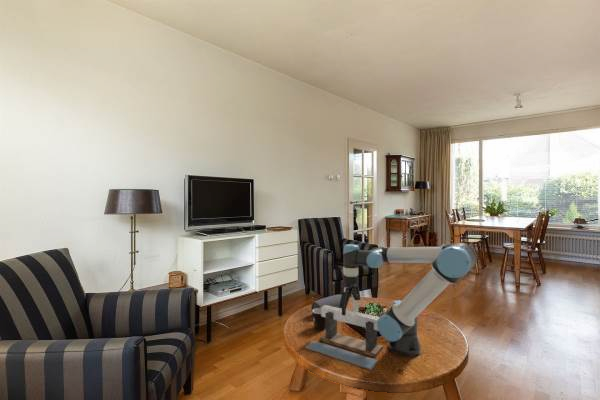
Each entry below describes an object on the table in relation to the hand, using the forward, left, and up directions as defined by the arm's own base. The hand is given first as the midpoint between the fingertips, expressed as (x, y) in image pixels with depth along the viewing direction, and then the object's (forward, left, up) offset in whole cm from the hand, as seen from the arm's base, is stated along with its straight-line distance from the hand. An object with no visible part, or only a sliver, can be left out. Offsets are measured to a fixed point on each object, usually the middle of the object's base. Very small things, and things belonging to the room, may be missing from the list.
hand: (350, 316), depth 157 cm
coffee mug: (+23, -9, -14) cm, 28 cm away
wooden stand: (0, 0, -14) cm, 14 cm away
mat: (0, +12, -14) cm, 19 cm away
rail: (0, 0, -3) cm, 3 cm away
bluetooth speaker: (+29, -31, -15) cm, 45 cm away
